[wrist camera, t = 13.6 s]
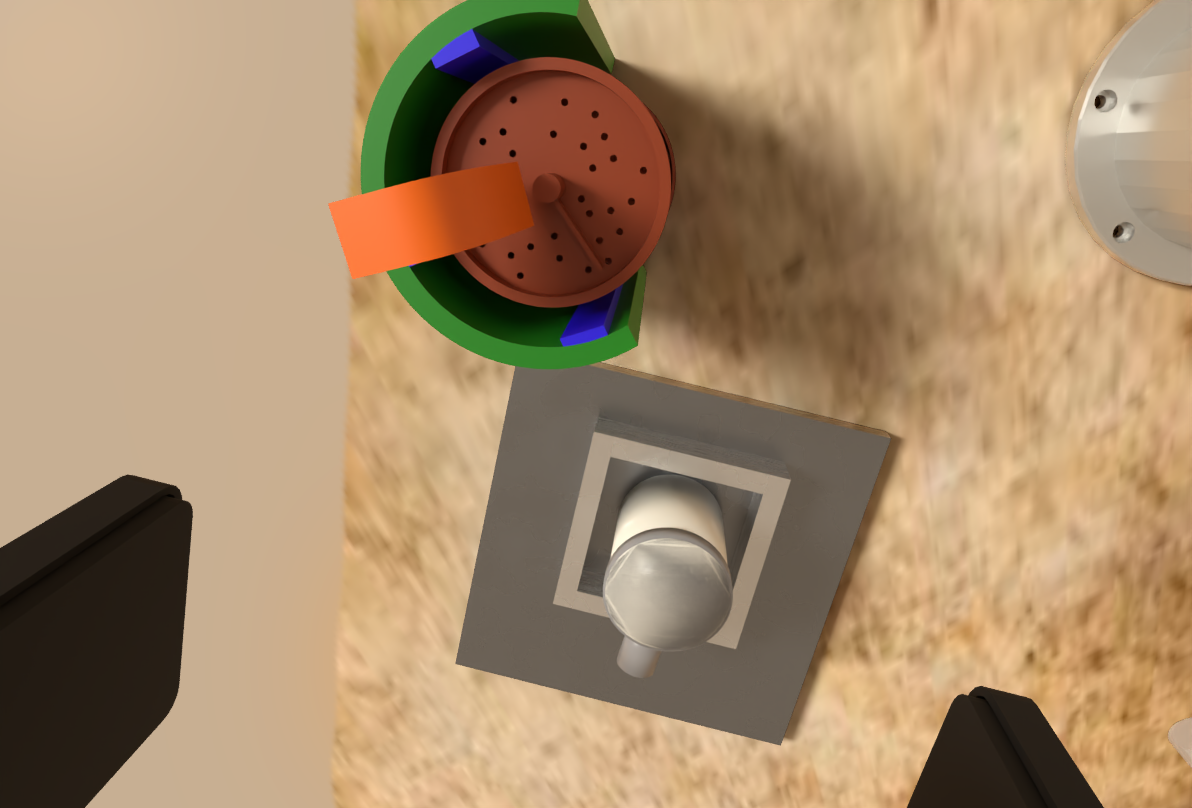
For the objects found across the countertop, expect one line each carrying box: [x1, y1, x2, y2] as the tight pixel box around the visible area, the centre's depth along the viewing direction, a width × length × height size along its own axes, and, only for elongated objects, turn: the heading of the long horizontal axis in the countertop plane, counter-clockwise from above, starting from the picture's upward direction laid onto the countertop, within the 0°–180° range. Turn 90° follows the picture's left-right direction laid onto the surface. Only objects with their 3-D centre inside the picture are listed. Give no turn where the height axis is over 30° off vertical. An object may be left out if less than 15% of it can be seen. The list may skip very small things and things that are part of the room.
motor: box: [329, 0, 676, 369], centre depth 28 cm, size 10×9×20 cm
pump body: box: [603, 475, 733, 678], centre depth 38 cm, size 5×8×7 cm
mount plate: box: [456, 362, 891, 745], centre depth 41 cm, size 18×18×3 cm
